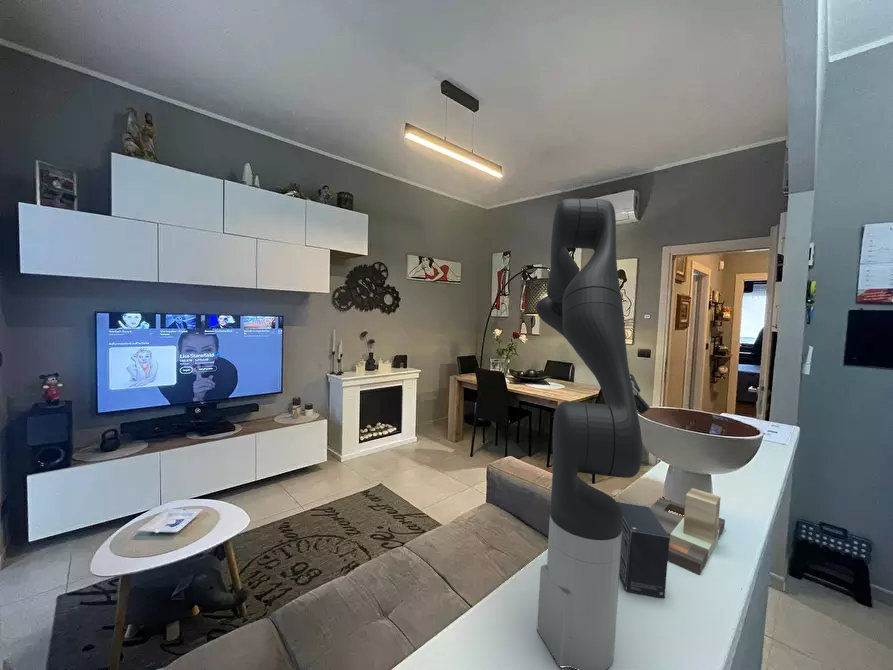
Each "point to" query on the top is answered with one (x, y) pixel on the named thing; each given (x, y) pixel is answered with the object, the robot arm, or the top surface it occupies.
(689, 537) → the pad
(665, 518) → the board
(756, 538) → the top surface
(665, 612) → the top surface
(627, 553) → the small box
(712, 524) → the maple block
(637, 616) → the top surface
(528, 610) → the top surface
